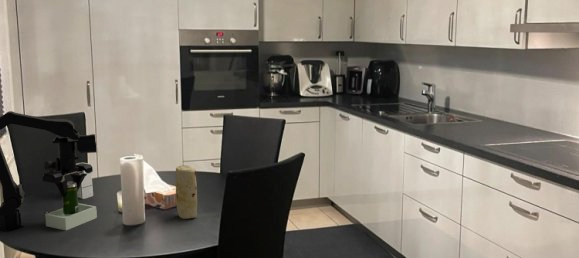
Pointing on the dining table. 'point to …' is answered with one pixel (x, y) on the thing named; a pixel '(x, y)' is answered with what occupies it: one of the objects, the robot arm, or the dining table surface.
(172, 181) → the dining table surface
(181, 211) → the food model
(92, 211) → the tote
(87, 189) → the syrup box
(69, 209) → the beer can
